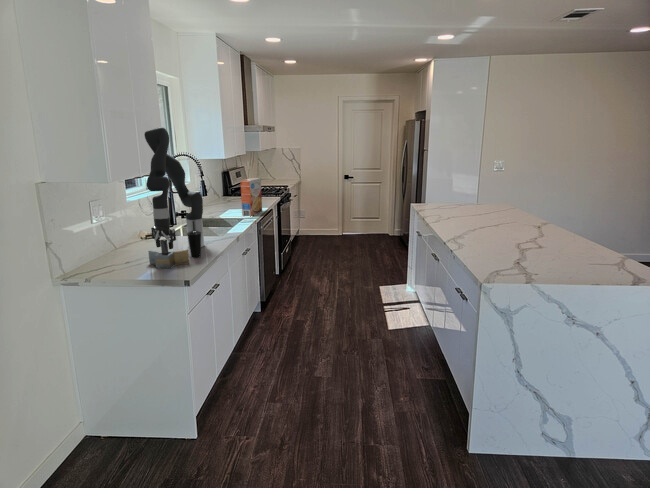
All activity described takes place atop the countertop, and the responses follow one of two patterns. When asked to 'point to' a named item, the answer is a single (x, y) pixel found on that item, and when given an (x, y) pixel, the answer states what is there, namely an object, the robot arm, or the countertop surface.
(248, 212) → the pasta box
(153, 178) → the robot arm
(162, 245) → the hinge pin
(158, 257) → the hinge
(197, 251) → the drinking cup
